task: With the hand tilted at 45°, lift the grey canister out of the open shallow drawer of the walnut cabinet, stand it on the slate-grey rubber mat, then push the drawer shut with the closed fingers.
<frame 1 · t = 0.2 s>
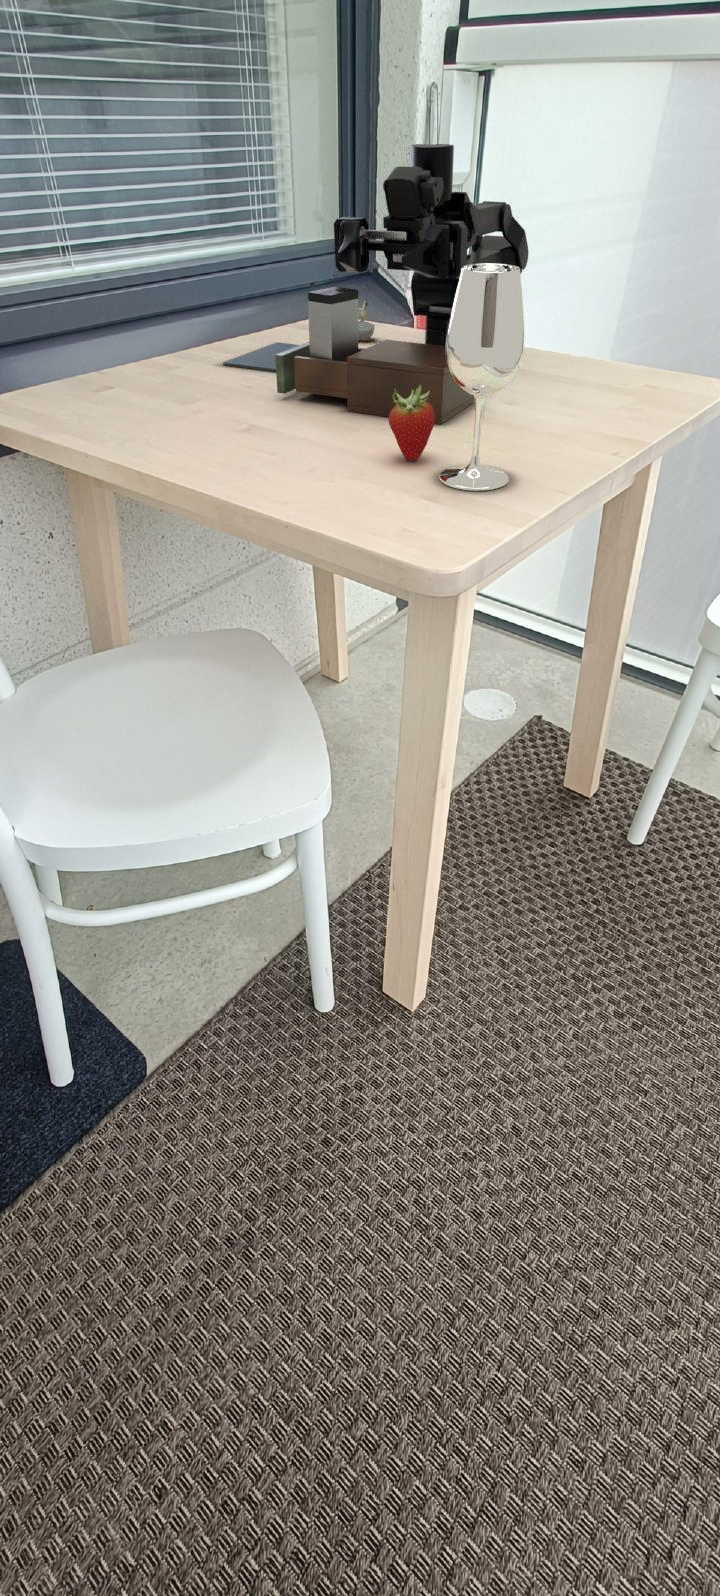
hand: (370, 259, 111), 17 cm above the table, tool horizontal, fingers open, 9 cm apart
wineglass: (473, 481, 96), on the table
mat: (288, 359, 139), on the table
figurine: (361, 341, 150), on the table
drawer: (330, 370, 120), point 3 cm above the table, slide at 10.0 cm, touching grey canister
grey canister: (334, 382, 120), point 2 cm above the table, touching drawer
cabinet: (411, 406, 118), on the table
fruit: (410, 461, 101), on the table
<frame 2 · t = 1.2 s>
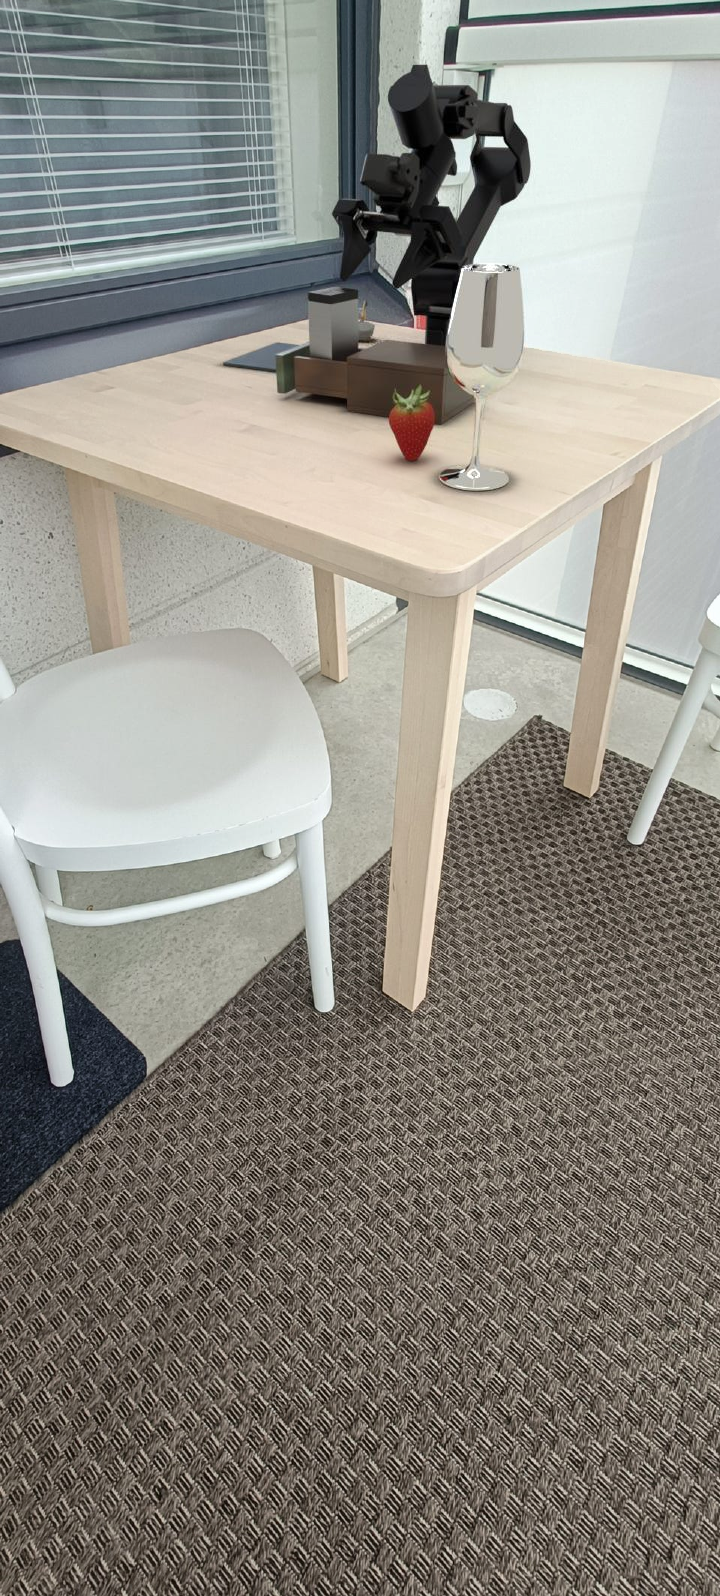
hand: (367, 282, 118), 13 cm above the table, tool tilted 45°, fingers open, 9 cm apart
nothing on the table moved.
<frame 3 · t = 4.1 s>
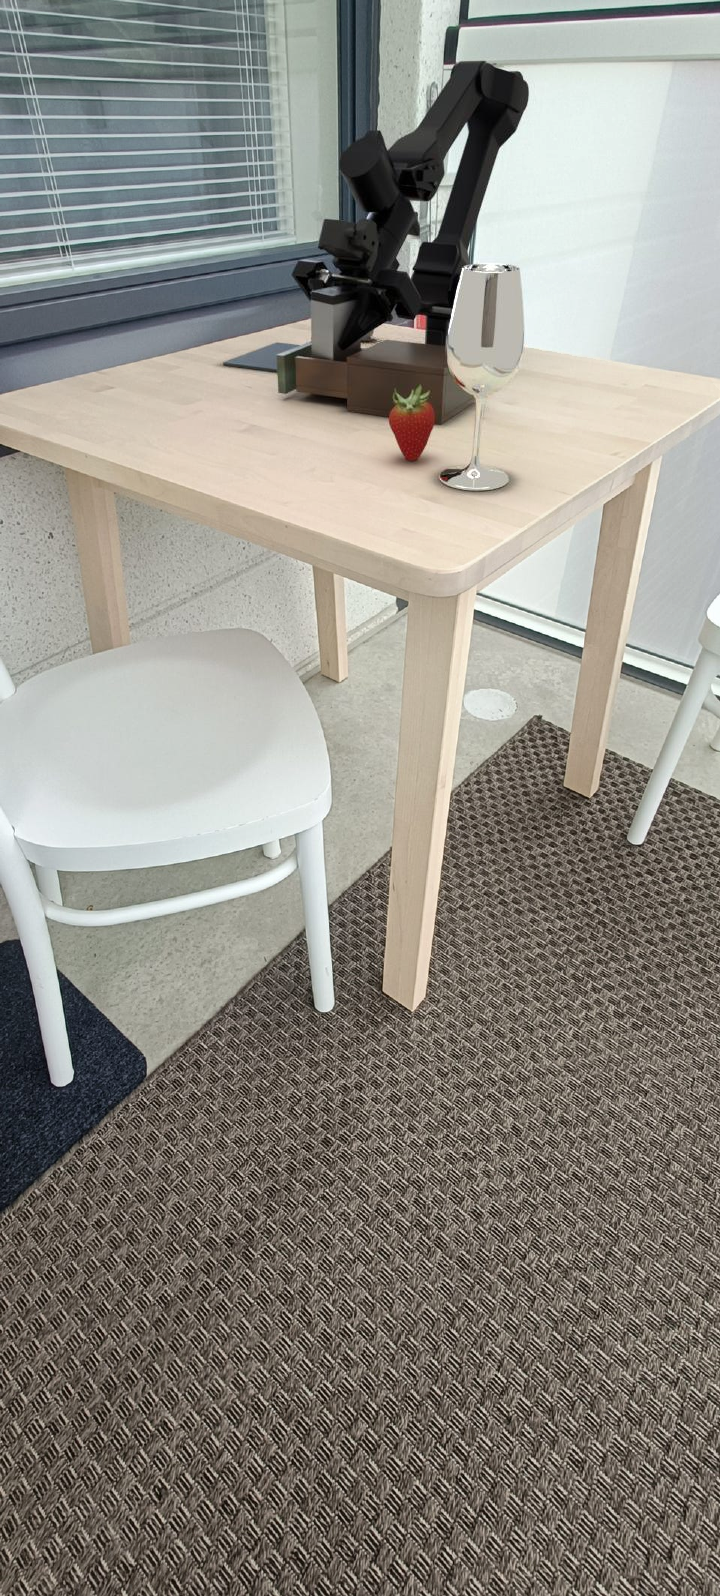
hand: (326, 345, 116), 7 cm above the table, tool tilted 45°, fingers closed on grey canister, 4 cm apart
grey canister: (336, 381, 120), point 2 cm above the table, touching drawer, gripper
everything else where it was.
when the fingers open (5 cm above the table, at t = 13.7 s): grey canister stays where it is, resting on mat.
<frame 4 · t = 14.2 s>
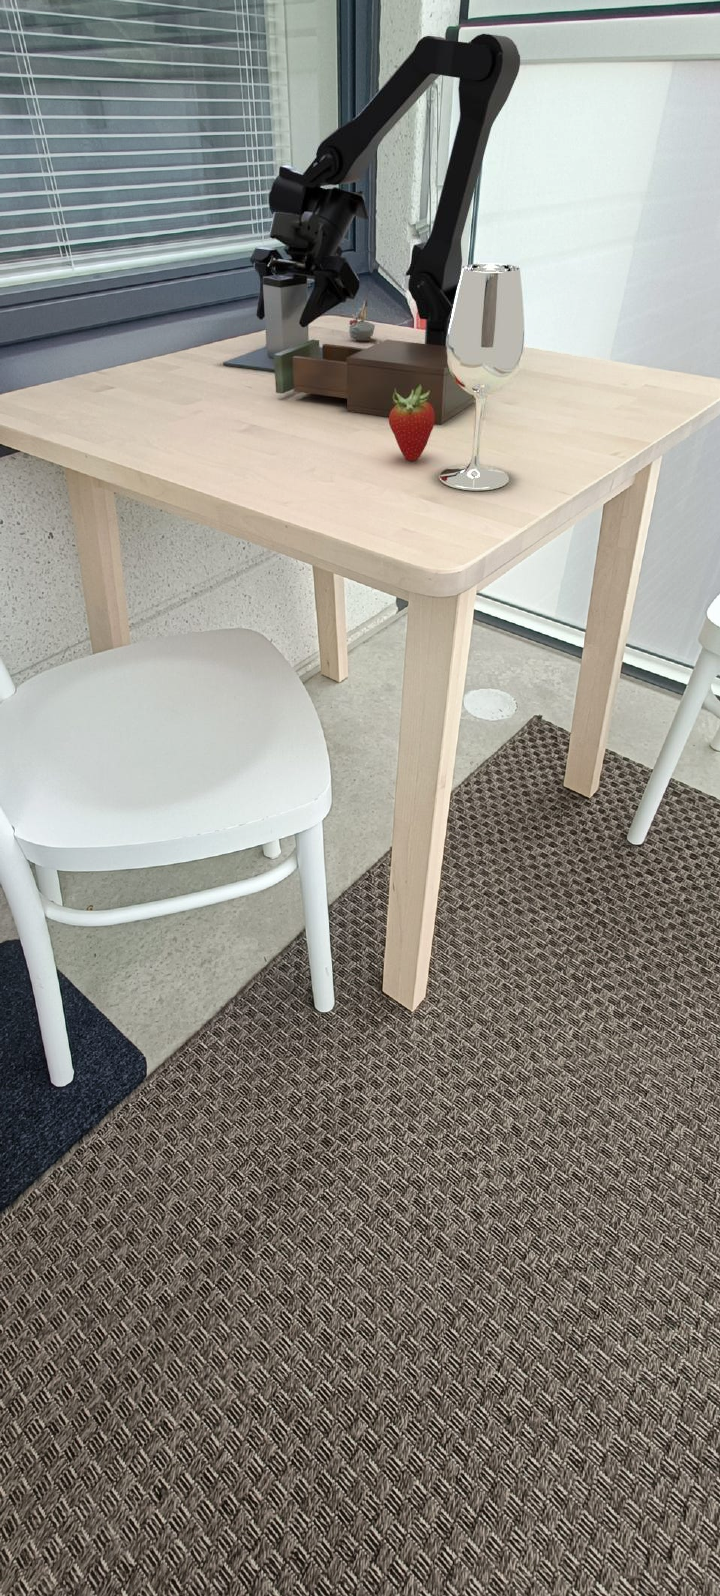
hand: (279, 321, 135), 6 cm above the table, tool tilted 45°, fingers open, 9 cm apart
drawer: (329, 370, 120), point 3 cm above the table, slide at 10.2 cm
grey canister: (288, 355, 139), resting on mat
everything else where it was.
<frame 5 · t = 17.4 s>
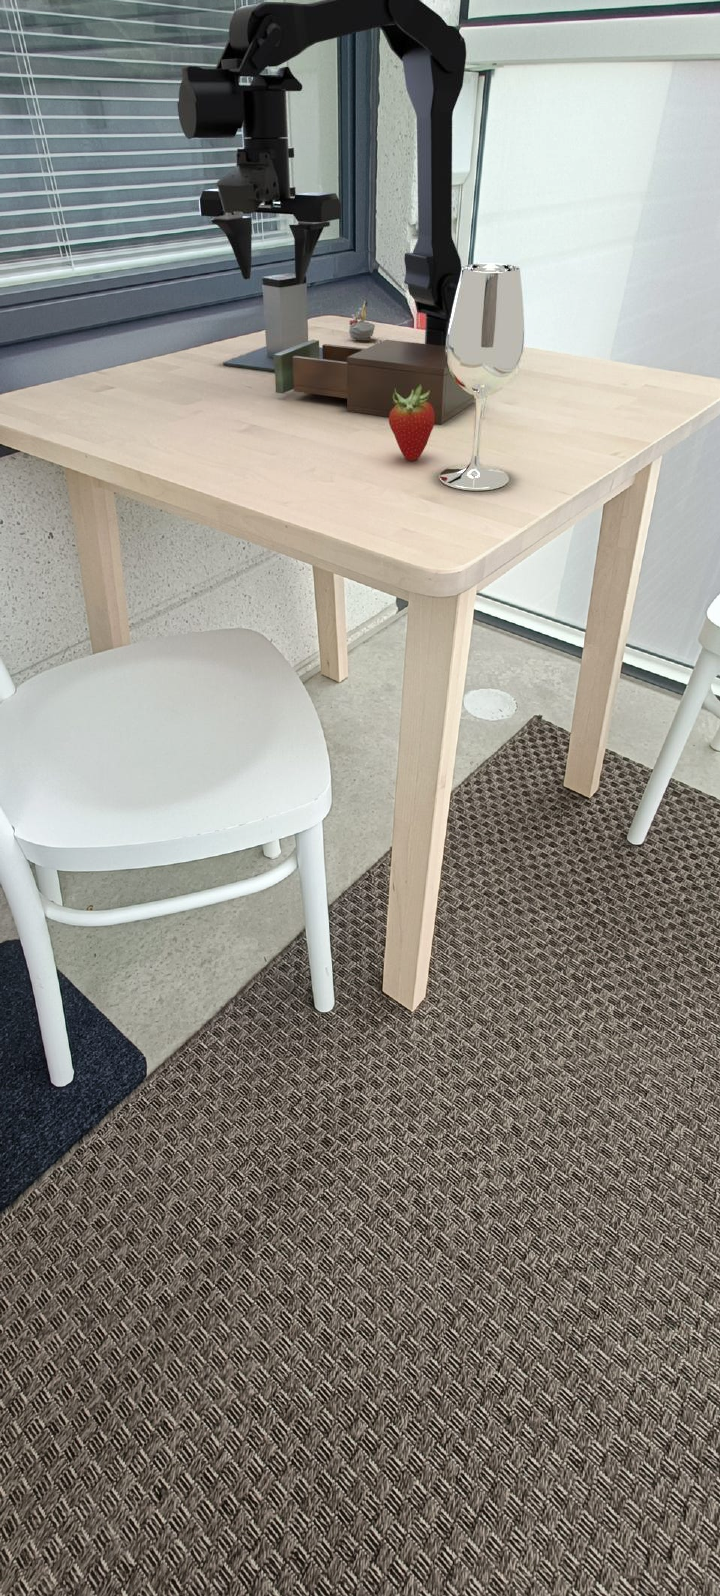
hand: (272, 281, 119), 13 cm above the table, tool pointing down, fingers open, 8 cm apart
nothing on the table moved.
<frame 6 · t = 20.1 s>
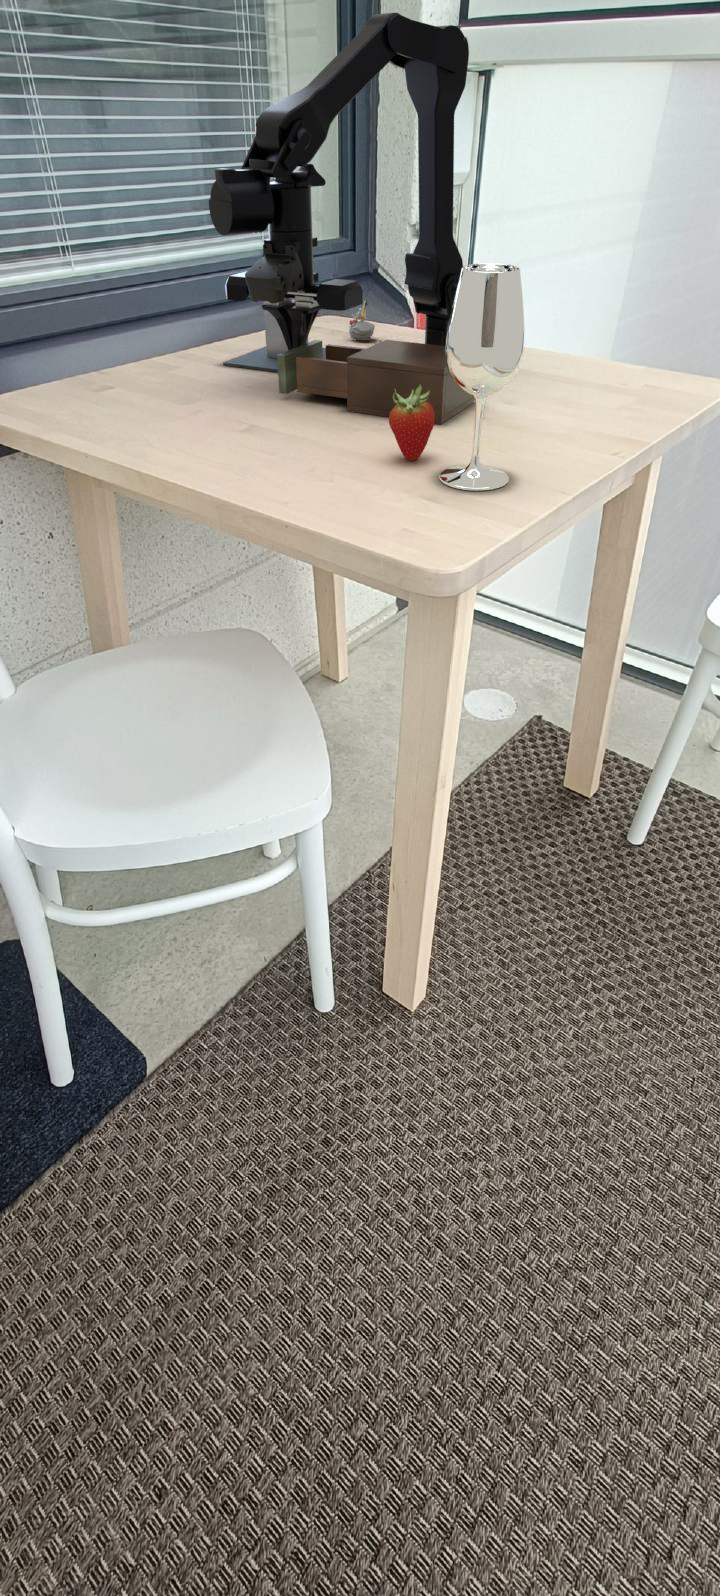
hand: (296, 360, 124), 4 cm above the table, tool pointing down, fingers closed
drawer: (332, 370, 120), point 3 cm above the table, slide at 9.7 cm, touching gripper
everything else where it was.
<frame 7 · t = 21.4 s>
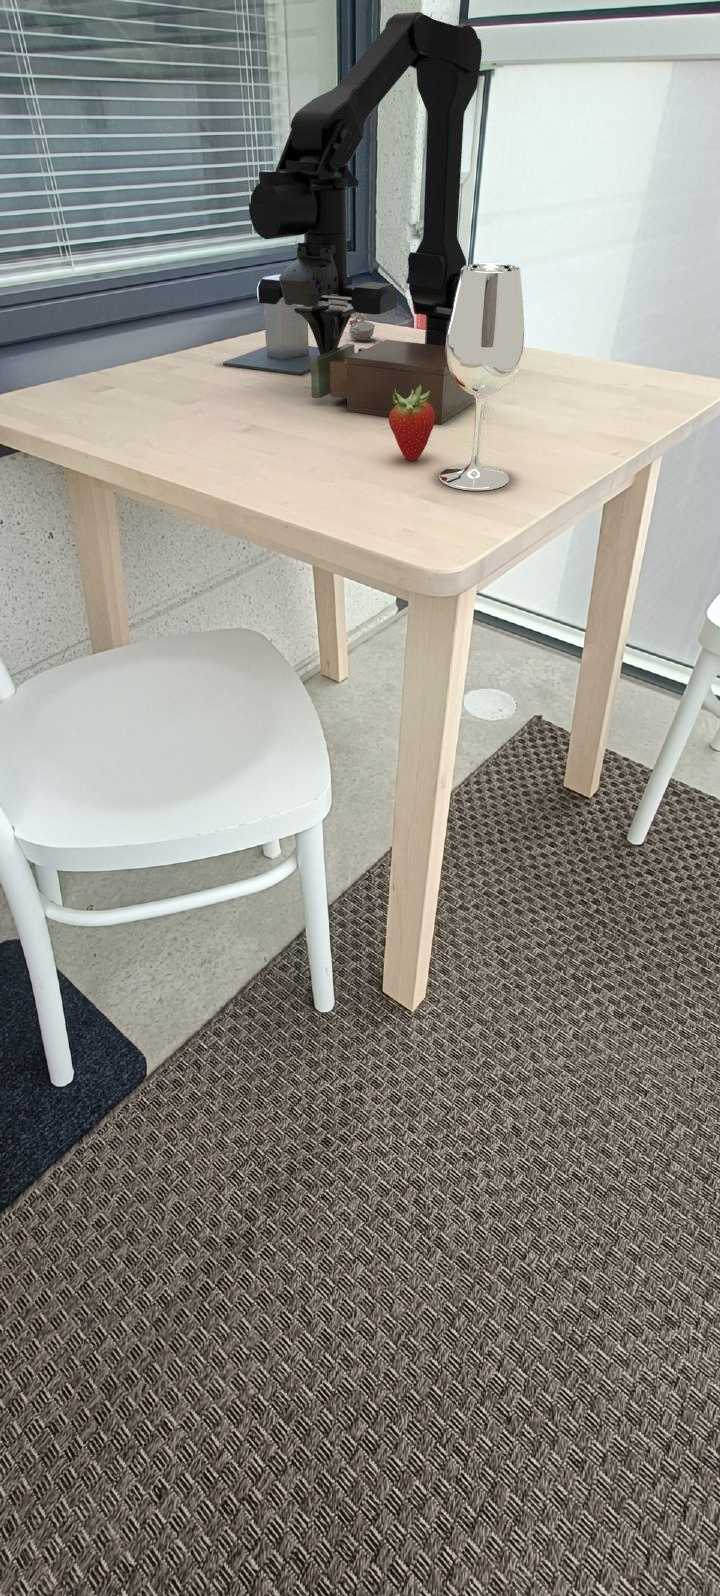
hand: (327, 364, 122), 4 cm above the table, tool pointing down, fingers closed
drawer: (366, 374, 118), point 3 cm above the table, slide at 4.5 cm, touching gripper
everything else where it was.
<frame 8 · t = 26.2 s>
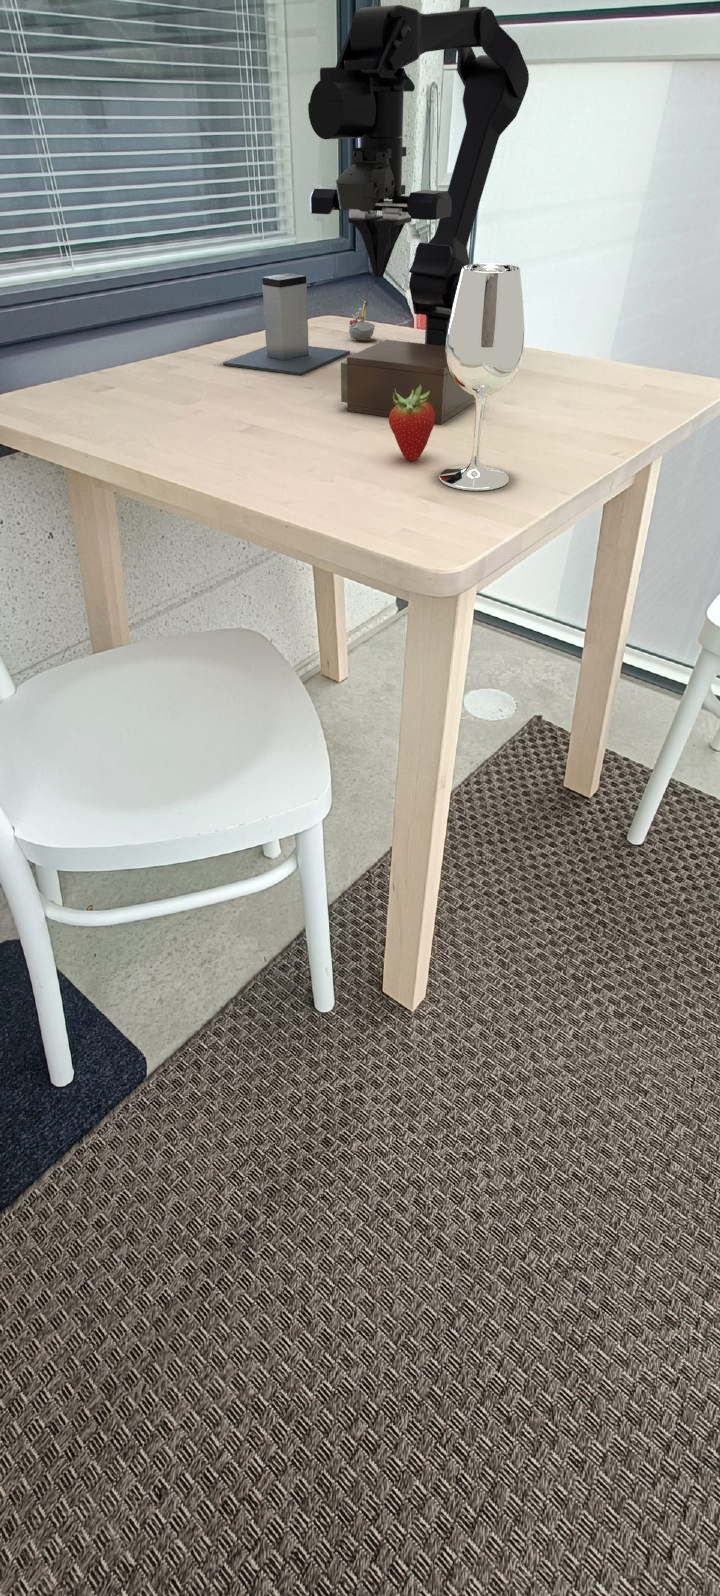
hand: (378, 277, 122), 13 cm above the table, tool pointing down, fingers closed
drawer: (396, 378, 117), point 3 cm above the table, slide at 0.0 cm, touching cabinet
everything else where it was.
at the end: grey canister inside the target area on the mat (0.4 cm from its centre), point 0.4 cm above the mat's base; grey canister tilted 0°; drawer slide at 0.0 cm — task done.
